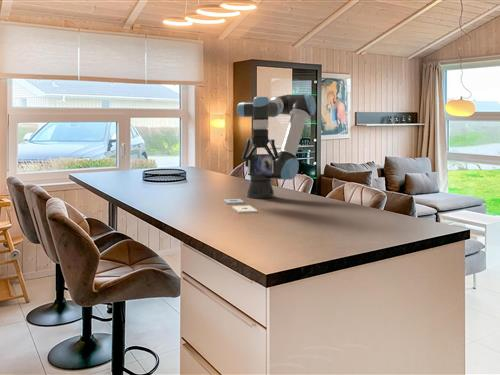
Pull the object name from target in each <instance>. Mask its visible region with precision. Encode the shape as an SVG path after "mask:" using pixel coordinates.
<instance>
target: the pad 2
mask: <svg viewBox="0 0 500 375" xmlns="http://www.w3.org/2000/svg"><path fill="white" fill-rule="evenodd" d="M231 209H233V210H234V211H235V212H237V213H238V214H248V213H249V214H250V213H251V214H252V213H258V210H257V209H256V208H255V207H253V206H252V205H232V206H231Z"/></svg>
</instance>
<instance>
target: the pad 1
mask: <svg viewBox="0 0 500 375" xmlns="http://www.w3.org/2000/svg"><path fill="white" fill-rule="evenodd" d="M222 200H223V202H224V203H225V204H226V205H237V204H240V205H243V204H245V200H242V199H241V198H230V199H227V198H226V199H225V198H224V199H222Z"/></svg>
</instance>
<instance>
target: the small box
mask: <svg viewBox="0 0 500 375" xmlns="http://www.w3.org/2000/svg"><path fill="white" fill-rule="evenodd" d="M249 160H250V174H248V173H247V175H248V176H249V177H250V176H272V155H269V154H268V153H261V154H259V153H258V154H257V153H256V154H255V153H253V154H252V155H251V157H250V158H249Z"/></svg>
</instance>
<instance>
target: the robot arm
mask: <svg viewBox="0 0 500 375" xmlns="http://www.w3.org/2000/svg"><path fill="white" fill-rule="evenodd" d="M316 110H317V104H316V100H315V97H314V95H313V94H309V93H305V94H302V93H301V94H300V93H299V94H284V95H280V96H275V97H272V98H271V99H269V97H268V96H254V98H253V100H252V101H247V102H245V101H243V102H242V101H241V102H239V103H238V104H237V107H236V113H237V115H238V116H239V117H242V118H252V119H253V120H252V121H253V122H252V128H253V130H252V139H246V143H245V147H244V149H243V153H242V154H241V159H243V160H244V161H245V162H244V164H245V165H244V166H245V167H246V174H247V175H248V174H250V160H249V158H250V157H251V155H252V154H254V152H255V150H256V149H261V148H262V149H265V151H266V152H267V154H269V155H272V176H250V175H249V181H250V182H249V186H248V188H247V191H246V192H247V193H246V197H247V198H251V199H252V198H253V199H271V198H275V192H274V188H273V185H272V179H273V180H284V181H291V180H293V179H295V178H296V177H297V176H298V173H299V169H300V168H299V166H300V163H299V160H298V156H296V155H297V151H298V148H299V144H300V141H301V139H302V138H301V137H302V134H303V131H304V129H305V125H306V124H305V123H306V122H307V121H308V120H310V117H311V116H314V115H315V114H316ZM279 115H286V116H287V115H289V116H290V118H289V119H290V120H289V121H288V125H287V128H286V132H285V135H284V138H283V142H282V144H281V148H280V150H279V151H277V148H276V144H275V139H270V138H269V118H276V117H278V116H279ZM251 144H253V145H252V147H251V149H250V146H251ZM268 144H270V147H271V148H272V149H270V147H269V145H268ZM249 149H250V150H249ZM271 150H272V151H271ZM247 153H248V154H247Z"/></svg>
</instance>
